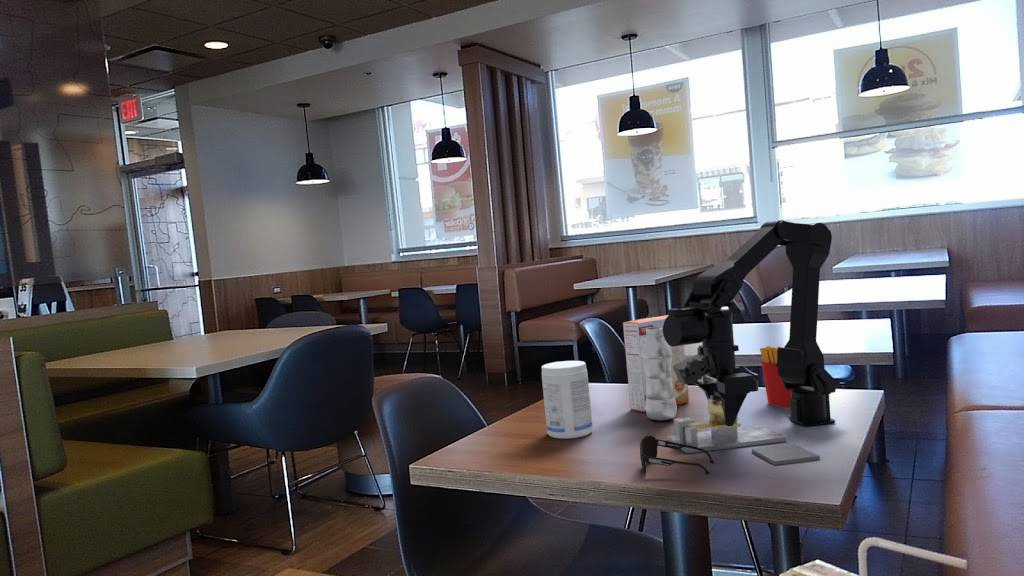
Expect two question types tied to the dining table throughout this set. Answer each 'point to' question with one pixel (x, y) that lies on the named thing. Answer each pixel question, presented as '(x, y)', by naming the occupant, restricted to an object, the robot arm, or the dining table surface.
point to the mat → (785, 454)
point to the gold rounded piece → (714, 416)
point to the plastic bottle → (658, 376)
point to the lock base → (736, 442)
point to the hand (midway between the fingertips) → (723, 422)
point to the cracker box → (635, 368)
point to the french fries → (774, 379)
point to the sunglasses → (650, 456)
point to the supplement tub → (566, 399)
